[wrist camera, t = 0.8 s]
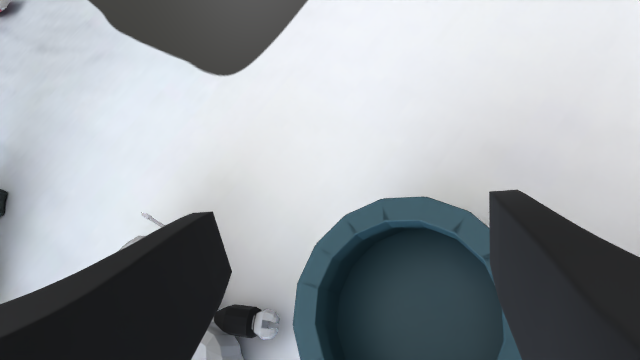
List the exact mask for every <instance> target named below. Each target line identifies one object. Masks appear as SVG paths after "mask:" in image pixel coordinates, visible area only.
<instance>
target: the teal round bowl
mask: <svg viewBox="0 0 640 360" xmlns="http://www.w3.org/2000/svg"><path fill="white" fill-rule="evenodd" d="M293 326H294V327H293V329H294V333H295V337H296V342H297V346H298V351H299V355H300V360H522V358H521V355H520V353H519V350H518V348H517V345H516V343H515V340H514V338H513V335H512V333H511V330H510V328H509V325H508V322H507V320H506V317H505V315H504V312H503V310H502V307H501V304H500V302H499V299H498V295H497V291H496V287H495V283H494V279H493V275H492V271H491V266H490V228H488V227H487V226H486V225H485V224H484V223H483V222H481V221H480V220H479V219H478V218H477V217H475V216H474V215H473V214H472V213H471V212H469V211H467V210H464V209H461V208H458V207H455V206H452V205H449V204H446V203H443V202H440V201H437V200H434V199H431V198H428V197H405V198H384V199H380V200H378V201H376V202H373V203H371V204H369V205H367V206H364V207H362V208H360V209H358V210H356V211H353V212H351V213H349V214H347V215H345V216H344V217H343V218H342V219H341V220H340V221H339V222H338V223H337V224H336V225H335V226H334V227H333V228H332V229H331V230H330V231H329V232H328V233H327V234H326V235H325V236H324V237H323V238H322V239H321V240H320V241H319V242H317V245H315V247H314V249H313V251H312V253H311V255H310V258H309V260H308V262H307V264H306V266H305V268H304V270H303V272H302V274H301V277H300V279H299V281H298V283H297V292H296V301H295V310H294V319H293Z"/></svg>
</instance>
